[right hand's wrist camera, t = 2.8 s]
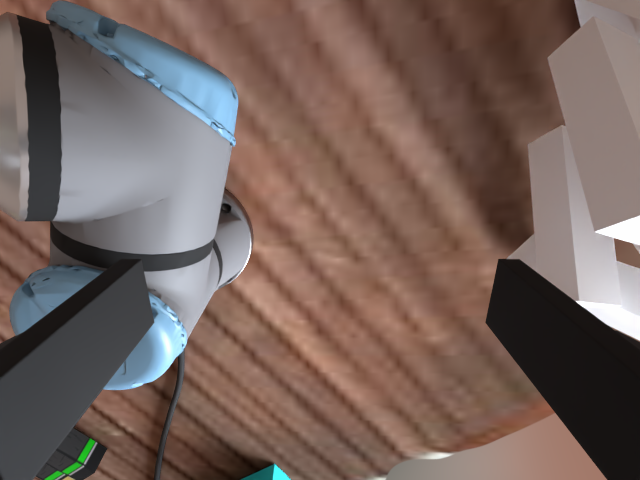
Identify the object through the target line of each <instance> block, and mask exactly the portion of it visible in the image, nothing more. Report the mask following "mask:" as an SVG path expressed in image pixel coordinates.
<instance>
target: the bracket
mask: <svg viewBox="0 0 640 480" xmlns="http://www.w3.org/2000/svg"><path fill="white" fill-rule="evenodd" d="M241 480H290V479H289V478H288V477H287V476H286V475H285V474H284V473H283V472H282V471H281V470H280V469H279V468H278V467H277V466H276V465H275V464H273V465H271V466H269V467H267V468H265V469H262V470H260V471H258V472H256V473H254V474H252V475H250V476H247V477H245V478H243V479H241Z"/></svg>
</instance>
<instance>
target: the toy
mask: <svg viewBox="0 0 640 480" xmlns="http://www.w3.org/2000/svg"><path fill="white" fill-rule="evenodd" d="M106 450H107V448H105V447H104V446H102V445H100V444H99V443H97V442H95V441H94V440H92V439H90V438H89V437H87V436H85V435H84V434H82V433H80V432H79V431H77V430H75V429H74V428H72V430H71V431H70V432H69V434H68V435H67V436H66V437H65V439H64V440H63V441H62V443H61V444H60V445H59V446H58V448H57V449H56V450H55V452H54V453H53V454H52V455H51V457H50V458H49V459H48V461H47V462H46V463H45V464H44V466H43V467H42V468H41V470H40V471H39V472H38V473H37V475H36V477H38V478H40V479H42V480H84V479H85V478H87V477H88V476H90V475H92V474H93V473H95V471H96V469H97V467H98V465H99V463H100V461H101V459H102V458H103V456H104V454H105V452H106Z"/></svg>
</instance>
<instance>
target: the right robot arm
mask: <svg viewBox="0 0 640 480" xmlns="http://www.w3.org/2000/svg"><path fill="white" fill-rule="evenodd" d="M46 19H47V20H49V21H50V24H45V23H42V22H39V21H35V20H32V19H29V18H25V17H22V16H19V15H16V14H13V13H9V12H6V13H4V14H2V15H0V210H2V211H3V212H5V213H6V214H8V215H9V216H11V217H12V218H13V219H15V220H17V221H50V262H49V264H48V266H47V267H46V268H44V269H40V270H37V271H35V272H34V273H32V274H31V275H30V276H29V277H28V278H27V279H26V280H25V282H24V284H22V285H21V286H20V287H19V288H18V289H17V291H16V292H15V294H14V295H13V298H12V301H11V304H10V310H9V311H10V321H11V325H12V328H13V331H14V333H15V335H16V336H14V337H12V338H10V339H8V340H7V341H5V342H3V343H1V344H0V480H33V479H34V477H35V476H36V475H37V473H38V472H39V471H40V470H41V468H42V467H43V466H44V464H45V463H46V462H47V461H48V459H49V458H50V457H51V455H52V454H53V453H54V452H55V450H56V449H57V448H58V446H59V445H60V444H61V443H62V441H63V440H64V439H65V437H66V436H67V435H68V434H69V432H70V431H71V430H72V428H73V427H74V426H75V424H76V423H77V422H78V421H79V419H80V418H81V417H82V415H83V414H84V413H85V412H86V410H87V409H88V408H89V406H90V405H91V404H92V403H93V401H94V400H95V399H96V397H97V396H98V395H99V394H100V392H101V391H102V390H103V389H106V390H123V389H131V388H135V387H138V386H141V385H142V384H143V383H149V382H152V381H154V380H155V379H157V378H158V377H160V376H161V375H162V374H163V373H164V372H165V371H166V370H167V369H168V368H169V367H170V365H171V364H172V362H173V361H174V359H175V358H176V357H177V356H178V374H177V381H176V386H175V390H174V394H173V397H172V400H171V403H170V406H169V410H168V413H167V417H166V420H165V424H164V428H163V431H162V435H161V439H160V444H159V449H158V454H157V460H156V466H155V476H154V480H160V471H161V463H162V457H163V452H164V447H165V443H166V438H167V435H168V431H169V427H170V424H171V420H172V417H173V413H174V410H175V407H176V404H177V401H178V398H179V395H180V391H181V387H182V383H183V376H184V347H185V346H186V343H187V339H188V337H189V335H190V333H191V332H192V330H193V328H194V326H195V325H196V323H197V321H198V319H199V318H200V316H201V314H202V312H203V311H204V309H205V307H206V305H207V304H208V302H209V300H210V298H211V297H212V295H213V293H214V291H216V290H217V289H219V288H221V287H223V286H225V285H227V284H228V283H230V282H231V281H233V280H234V279H235V278H236V277H237V276H238V275H239V274H240V273H241V272H242V270H243V269H244V267H245V265H246V264H247V262H248V259H249V257H250V255H251V252H252V247H253V229H252V225H251V222H250V219H249V216H248V214H247V212H246V211H245V209H244V207H243V206H242V205H241V203H240V202H239V201H238V200H237V199H236V198H235V197H234V196H233V195H232V194H231V193H230V192H229V191H227V190H226V189H224V187H225V182H226V177H227V171H228V166H229V161H230V156H231V150H232V146H235V143H236V141H235V138H234V130H235V123H236V116H237V109H238V95H237V92H236V89H235V87H234V85H233V84H232V82H231V81H230V80H229V79H228V78H227V77H226V76H225V75H224V74H222V73H221V72H220V71H218V70H216V69H215V68H213V67H211V66H210V65H208V64H206V63H204V62H202V61H200V60H199V59H197V58H195V57H193V56H191V55H189V54H187V53H185V52H183V51H181V50H179V49H177V48H175V47H173V46H171V45H169V44H167V43H165V42H163V41H161V40H158V39H156V38H154V37H152V36H150V35H148V34H145V33H143V32H141V31H139V30H136V29H134V28H132V27H129V26H127V25H125V24H119V23H117V22H116V21H114V20H112V19H110V18H107V17H104V16H102V15H100V14H98V13H96V12H94V11H92V10H90V9H87V8H85V7H82V6H79V5H76V4H73V3H70V2H67V1H60V0H59V1H57V2H54V3H53V4H52V6H51V8H50V10H48V11H47V12H46ZM486 324H487V325H488V326H489V328H490V329H491V330H492V332H493V333H494V334H495V335H496V337H497V338H498V339H499V341H500V342H501V343H502V344H503V346H504V347H505V348H506V350H507V351H508V352H509V354H510V355H511V356H512V357H513V359H514V360H515V361H516V363H517V364H518V365H519V366H520V368H521V369H522V370H523V372H524V373H525V374H526V375H527V377H528V378H529V379H530V381H531V382H532V383H533V384H534V386H535V387H536V388H537V390H538V391H539V392H540V394H541V395H542V396H543V397H544V399H545V400H546V401H547V403H548V404H549V405H550V406H551V408H552V409H553V410H554V412H555V413H556V414H557V415H558V417H559V418H560V419H561V421H562V422H563V423H564V424H565V426H566V427H567V428H568V430H569V431H570V432H571V434H572V435H573V436H574V437H575V439H576V440H577V441H578V443H579V444H580V445H581V446H582V448H583V449H584V450H585V452H586V453H587V454H588V455H589V457H590V458H591V459H592V461H593V462H594V463H595V464H596V466H597V467H598V468H599V470H600V471H601V472H602V473H603V475H604V476H605V477H606V479H607V480H640V342H638V341H636V340H635V339H633V338H631V337H629V336H627V335H625V334H623V333H621V332H619V331H614V330H613V329H612V328H610V327H609V326H608V325H606V324H605V323H604V322H602V321H601V320H600V319H598V318H597V317H596V316H594V315H593V314H592V313H590V312H589V311H588V310H586V309H585V308H584V307H582V306H581V305H580V304H579V303H577V302H576V301H575V300H573V299H572V298H571V297H569V296H568V295H567V294H565V293H564V292H563V291H561V290H560V289H559V288H557V287H556V286H555V285H553V284H552V283H551V282H549V281H548V280H547V279H545V278H544V277H543V276H541V275H540V274H539V273H537V272H536V271H535V270H533V269H532V268H531V267H529V266H528V265H527V264H525V263H524V262H523V261H521V260H520V259H498V264H497V269H496V274H495V279H494V284H493V289H492V293H491V298H490V303H489V308H488V313H487V318H486Z"/></svg>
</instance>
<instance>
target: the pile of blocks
mask: <svg viewBox="0 0 640 480" xmlns="http://www.w3.org/2000/svg"><path fill="white" fill-rule="evenodd" d="M574 1H575V5H576V10H577V14H578V18H579V23H580V27H581V28H580V29H578V30H577V31H576V32H575V33H574V34H573V35H572V36H571V37H570V38H568V39H567V40H566V41H565V42H564V43H563V44H562V45H561V46H560V47H558V48H557V49H556V50H555V51H554V52H553V53H552V54H551V55H550V56H548V57H547V58H548V62H549V66H550V69H551V73H552V77H553V80H554V84H555V88H556V91H557V95H558V99H559V102H560V106H561V110H562V114H563V117H564V121H565V125H566V126H562V125H561V126H560V127H558V128H556V129H554V130H552V131H551V132H549V133H547V134H545V135H543V136H542V137H540V138H538V139H536V140H534V141H533V142H531V143H529V144H528V154H529V167H530V181H531V195H532V209H533V222H534V234H533V235H532V236H531V237H530V238H529V239H527V240H526V241H525V242H524V243H523V244H522V245H521V246H520V247H519V248H518V249H516V250H515V251H514V252H513V253H512V254H511V255H510V256H509V257H508V258H507V259H520V260H521V261H523V262H524V263H525V264H527V265H528V266H529V267H531V268H532V269H533V270H535V271H536V272H537V273H539V274H540V275H541V276H543V277H544V278H545V279H547V280H548V281H549V282H551V283H552V284H553V285H555V286H556V287H557V288H559V289H560V290H561V291H563V292H564V293H565V294H567V295H568V296H569V297H571V298H572V299H573V300H575V301H576V302H577V303H579V304H580V305H581V306H582V307H584V308H585V309H586V310H588V311H589V312H590V313H592V314H593V315H594V316H596V317H597V318H598V319H600V320H601V321H602V322H604V323H605V324H607V325H609V326H611V327H613V328H615V329H617V330H619V331H621V332H623V333H625V334H628V335H630V336H632V337H634V338H636V339H638V340H640V269H639V268H636V267H633V266H630V265H627V264H624V263H621V262H618V261H616V254H615V246H614V238H617V239H621V240H624V241H628V242H631V243H633V245H634V246H635V248H636V249H637V250H638V252H639V253H640V0H574ZM613 237H614V238H613Z"/></svg>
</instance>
